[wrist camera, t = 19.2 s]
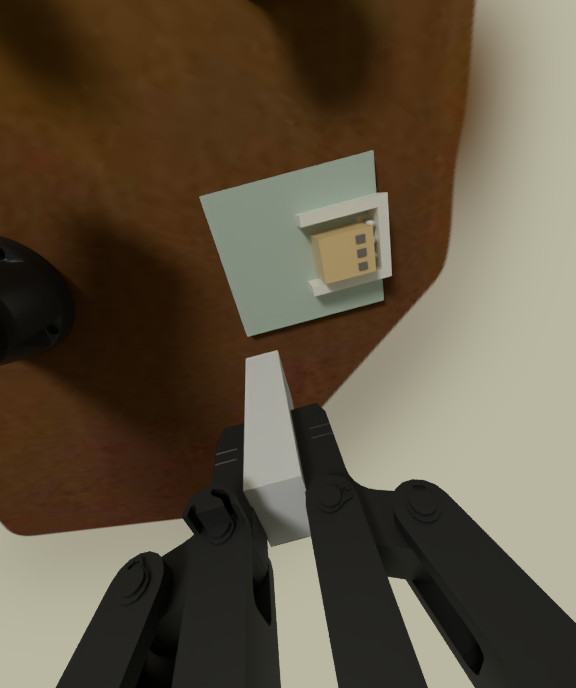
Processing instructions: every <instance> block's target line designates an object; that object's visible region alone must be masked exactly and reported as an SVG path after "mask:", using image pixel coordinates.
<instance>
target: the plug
mask: <svg viewBox="0 0 576 688" xmlns="http://www.w3.org/2000/svg"><path fill="white" fill-rule="evenodd" d="M310 240H311V246H312V251H313V257H314V262H315V267H316V273H317V275H318V276H319V277H320V278H321V279H322V280H323V282H324V283H325V284H329V283H333V282H337V281H340V280H344V279H348V278H352V277H355V276H359V275H363V274H367V273H370V272H374V271H376V261H375V249H374V236H373V225H369V224H364V223H359V222H355V223H351V224H347V225H344V226H340V227H336V228H332V229H329V230H325V231H321V232H317V233H313V234H310Z"/></svg>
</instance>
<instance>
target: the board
mask: <svg viewBox="0 0 576 688" xmlns="http://www.w3.org/2000/svg"><path fill="white" fill-rule="evenodd" d="M200 200H201V203H202V206H203V209H204V212H205V215H206V218H207V221H208V224H209V227H210V229H211V232H212V235H213V238H214V241H215V244H216V247H217V250H218V253H219V256H220V259H221V261H222V264H223V267H224V270H225V273H226V276H227V279H228V282H229V285H230V288H231V291H232V293H233V296H234V299H235V302H236V305H237V308H238V311H239V314H240V317H241V320H242V323H243V326H244V328H245V331H246V334H247V337H249V336H252V335H256V334H260V333H264V332H267V331H271V330H275V329H278V328H282V327H286V326H290V325H293V324H297V323H301V322H305V321H308V320H312V319H316V318H320V317H323V316H327V315H331V314H334V313H338V312H342V311H346V310H349V309H353V308H357V307H361V306H364V305H368V304H372V303H375V302H379V301H383V300H384V294H383V280H382V278H386V277H390V276H392V268H391V249H390V231H389V212H388V193H387V192H386V193H376V181H375V167H374V153H373V150H372V151H368V152H364V153H361V154H357V155H353V156H349V157H346V158H342V159H338V160H334V161H331V162H327V163H323V164H320V165H316V166H312V167H308V168H305V169H301V170H297V171H293V172H290V173H286V174H282V175H278V176H275V177H271V178H267V179H263V180H260V181H256V182H252V183H249V184H245V185H241V186H237V187H234V188H230V189H226V190H222V191H219V192H215V193H211V194H207V195H204V196H200ZM355 222H359V223H364V224H369V225H373V236H374V249H375V261H376V271H374V272H370V273H367V274H363V275H359V276H355V277H352V278H348V279H344V280H340V281H337V282H333V283H329V284H325V283H324V282H323V280H322V279H321V278H320V277H319V276H318V275H317V273H316V267H315V262H314V257H313V251H312V246H311V240H310V234H313V233H317V232H321V231H325V230H329V229H332V228H336V227H340V226H344V225H347V224H351V223H355Z"/></svg>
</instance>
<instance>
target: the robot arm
mask: <svg viewBox="0 0 576 688" xmlns="http://www.w3.org/2000/svg"><path fill="white" fill-rule="evenodd" d="M73 320H74V306H73V301H72V298H71V295H70V292H69V290H68V288H67V286H66V285H65V283H64V281H63V280H62V278H61V277H60V276H59V274H58V273H57V272H56V271H55V270H54V269H53V268H52V267H51V265H49V264H48V263H47V262H46V261H45V260H44V259H43V258H41V257H40V256H39V255H37V254H36V253H35V252H33V251H32V250H30V249H28V248H27V247H25V246H23V245H21V244H19V243H17V242H15V241H12V240H10V239H7V238H4V237H1V236H0V365H4V364H8V363H12V362H16V361H20V360H23V359H27V358H31V357H34V356H38V355H40V354H42V353H44V352H46V351H48V350H50V349H51V348H53V347H54V346H55V345H57V344H58V343H59V342H61V341H62V340H63V339H64V338H65V337H66V336H67V334H68V333H69V331H70V329H71V327H72V324H73ZM182 518H183V519H184V521H185V522H186V523H187V525H188V526H189V528H190V529H191V530H192V532H193V533H194V535H193V536H192V537H191V538H190V539H188V540H187V541H186V542H184V543H183V544H181V545H179V546H178V547H176V548H175V549H173V550H172V551H170V552H168V553H167V554H165V555H164V556H162V557H161V556H160V555H159V554H157V553H154V552H150V551H149V552H145V553H141V554H139V555H137V556H136V557H134V558H132V559H131V560H129V561H128V562H127V563H126V564H125V565H124V566H123V567H122V568H121V569H120V570H119V572H118V573H117V575H116V576H115V578H114V579H113V581H112V582H111V584H110V586H109V588H108V589H107V591H106V593H105V595H104V597H103V599H102V601H101V603H100V605H99V606H98V608H97V610H96V612H95V614H94V616H93V618H92V620H91V622H90V624H89V626H88V627H87V629H86V631H85V633H84V635H83V637H82V639H81V641H80V643H79V644H78V646H77V648H76V650H75V652H74V654H73V656H72V658H71V660H70V662H69V663H68V666H67V667H66V669H65V671H64V673H63V675H62V677H61V679H60V680H59V682H58V684H57V686H56V688H281V683H280V669H279V668H280V667H279V652H278V638H277V622H276V607H275V592H274V577H273V569H272V565H271V561H270V559H269V558H268V546H267V540H268V541H269V543H270V545H271V547H272V546H276V545H280V544H284V543H288V542H291V541H294V540H298V539H302V538H306V537H310V536H311V538H312V544H313V549H314V555H315V560H316V566H317V571H318V577H319V583H320V588H321V594H322V599H323V605H324V610H325V616H326V621H327V627H328V631H329V637H330V643H331V649H332V654H333V660H334V665H335V671H336V676H337V682H338V687H339V688H428V687H427V684H426V681H425V679H424V676H423V674H422V670H421V668H420V665H419V662H418V660H417V657H416V654H415V651H414V649H413V646H412V643H411V640H410V638H409V635H408V632H407V629H406V627H405V624H404V621H403V618H402V616H401V613H400V610H399V607H398V605H397V602H396V599H395V596H394V594H393V591H392V588H391V585H390V583H389V580H388V577H394V578H400V579H406V581H407V582H408V584H409V585H410V587H411V588H412V590H413V592H414V593H415V595H416V596H417V598H418V599H419V601H420V603H421V604H422V606H423V607H424V609H425V610H426V612H427V613H428V615H429V617H430V618H431V620H432V621H433V623H434V624H435V626H436V628H437V629H438V631H439V632H440V634H441V635H442V637H443V638H444V640H445V642H446V643H447V645H448V646H449V648H450V649H451V651H452V653H453V654H454V655H455V657H456V659H457V660H458V662H459V664H460V665H461V667H462V668H463V669H464V671H465V673H466V674H467V676H468V678H469V679H470V681H471V682H472V684H473V685H474V687H475V688H576V623H575V622H574V621H573V620H572V619H571V618H570V617H569V616H568V615H567V614H566V613H565V612H564V611H563V610H562V609H561V608H560V607H559V606H558V605H557V604H556V603H555V602H554V601H553V600H552V599H551V598H550V597H549V596H548V595H547V594H546V593H545V592H544V591H543V590H542V589H541V588H540V587H539V586H538V585H537V584H536V583H535V582H534V581H533V580H532V579H531V578H530V577H529V576H528V575H527V574H526V573H525V572H524V571H523V570H522V569H521V568H520V567H519V566H518V565H517V564H516V563H515V562H514V561H513V560H512V558H511V557H509V556H508V555H507V553H505V552H504V551H503V549H502V548H501V547H499V545H497V543H496V542H495V541H494V540H493V539H492V538H491V537H489V535H488V534H487V533H486V532H485V531H484V530H482V528H481V527H480V526H479V525H478V524H477V523H476V522H475V521H474V520H472V518H471V517H470V516H469V515H468V514H467V513H466V512H465V511H464V510H463V509H462V508H461V507H460V506H459V505H458V504H457V503H456V502H455V501H454V500H453V499H452V498H451V497H450V496H449V495H448V494H447V493H446V492H445V491H443V490H442V489H441V488H439V487H438V486H437V485H435V484H433V483H430V482H428V481H425V480H413V479H412V480H409V481H406V482H403V483H401V484H400V485H399V486H398V487H397V488H396V489H395V491H386V490H374V489H368V488H366V487H363V486H361V485H360V484H358V483H357V482H355V481H354V480H353V479H352V478H351V477H350V475H349V474H348V472H347V470H346V468H345V465H344V462H343V459H342V456H341V454H340V451H339V448H338V445H337V443H336V440H335V437H334V434H333V431H332V429H331V426H330V423H329V420H328V417H327V415H326V412H325V410H323V409H322V408H321V407H320V406H319V405H318V404H317V403H315V404H311V405H308V406H304V407H300V408H296V409H294V408H293V403H292V399H291V394H290V391H289V388H288V384H287V381H286V377H285V374H284V370H283V367H282V364H281V360H280V357H279V353H278V350H276V351H273V352H269V353H265V354H261V355H258V356H254V357H250V358H246V377H245V423H244V424H240V425H236V426H233V427H229V428H225V429H224V431H223V432H222V434H221V436H220V438H219V439H218V443H217V450H216V458H215V466H214V473H213V481H212V485H211V486H209V487H206V488H204V489H202V490H201V491H200V492H198V493H197V494H196V495H195V496H194V497H193V498H192V499H191V501H190V502H189V503H188V505H187V506H186V508H185V511H184V513H183V516H182Z"/></svg>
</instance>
